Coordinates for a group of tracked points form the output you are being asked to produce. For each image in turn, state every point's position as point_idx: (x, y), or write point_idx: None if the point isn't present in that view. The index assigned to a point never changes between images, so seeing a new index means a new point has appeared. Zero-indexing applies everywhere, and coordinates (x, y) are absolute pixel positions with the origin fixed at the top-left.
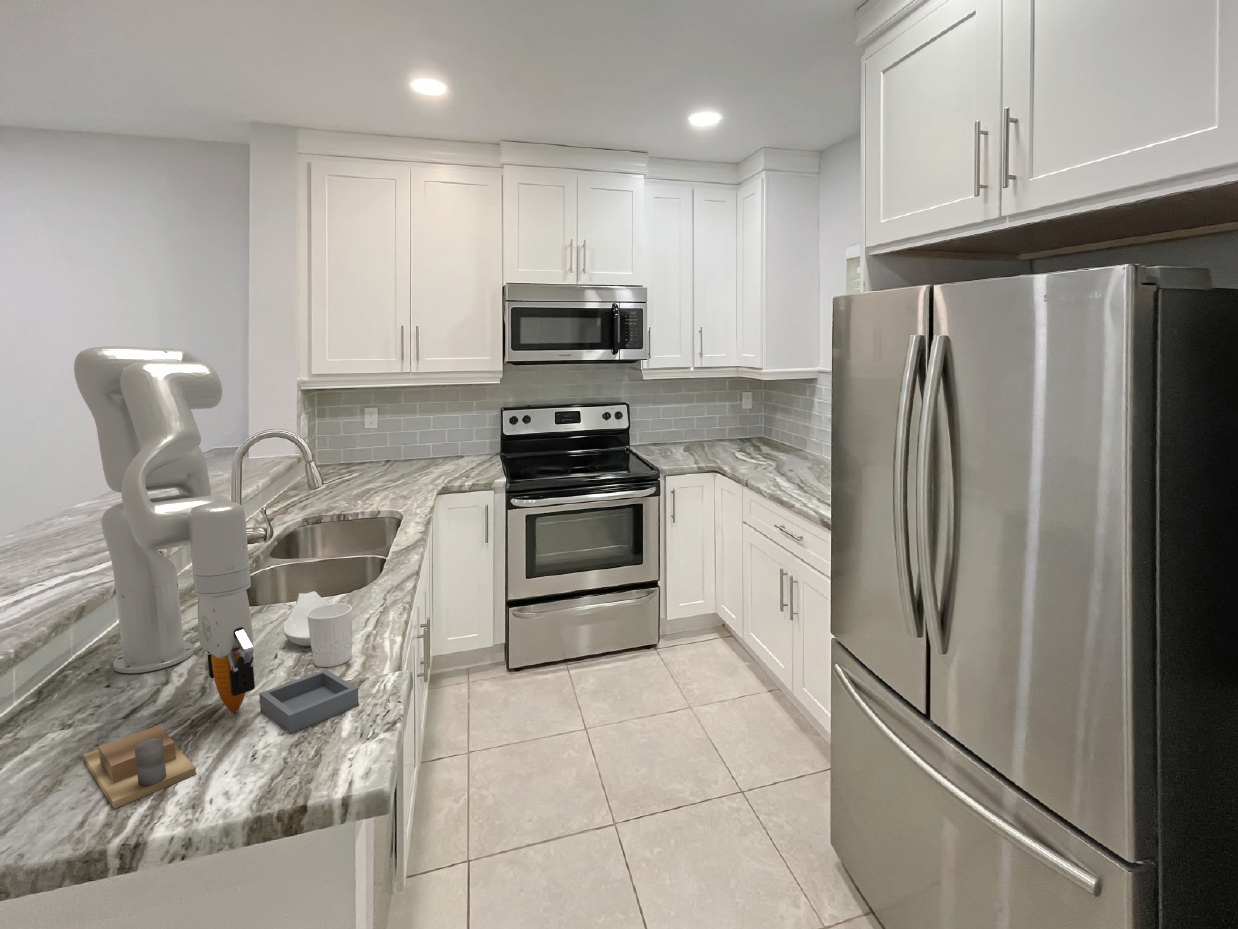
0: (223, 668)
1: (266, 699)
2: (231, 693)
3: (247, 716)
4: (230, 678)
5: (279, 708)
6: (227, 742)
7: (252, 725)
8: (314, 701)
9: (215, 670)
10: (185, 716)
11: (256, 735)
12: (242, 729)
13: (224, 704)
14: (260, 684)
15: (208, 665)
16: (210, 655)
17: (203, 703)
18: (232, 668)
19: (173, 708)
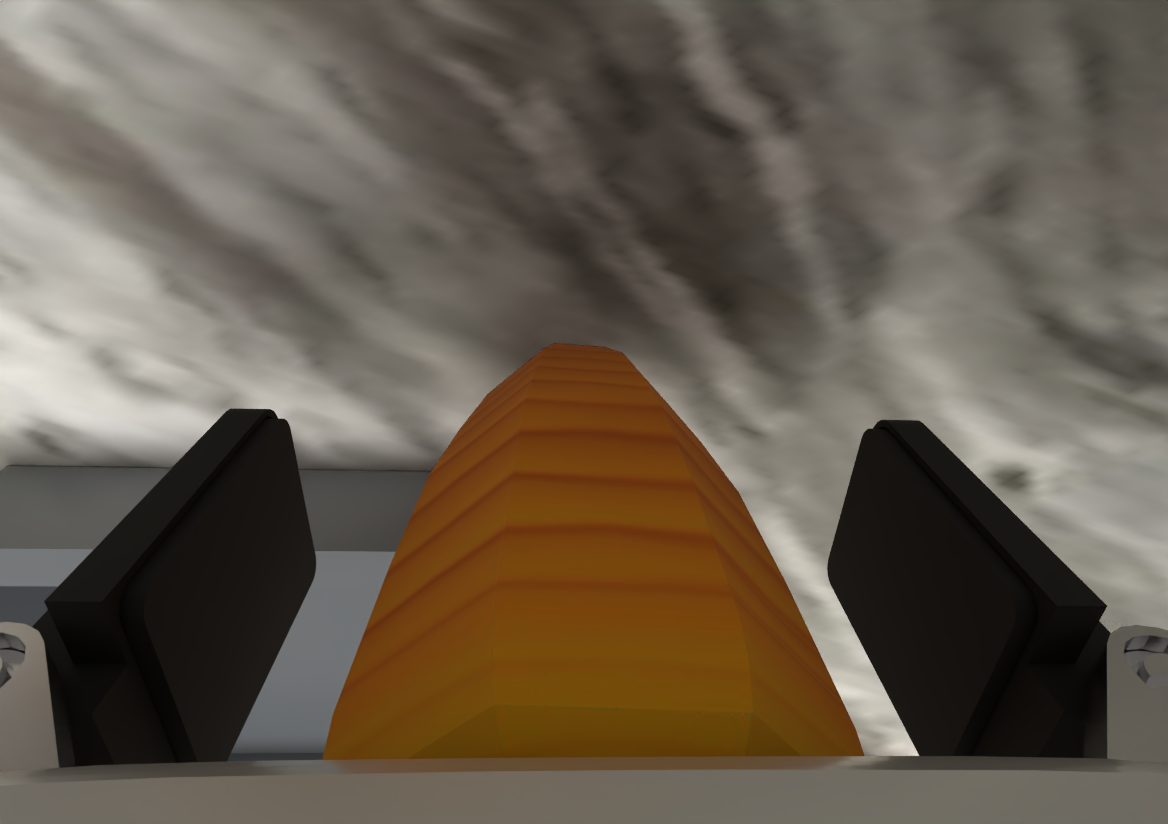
0: (413, 584)
1: (318, 547)
2: (252, 413)
3: (458, 397)
4: (138, 527)
5: (73, 550)
6: (154, 170)
7: (300, 371)
8: (294, 672)
9: (537, 496)
10: (849, 115)
11: (131, 337)
12: (288, 311)
13: (597, 346)
14: (822, 586)
15: (996, 497)
16: (1047, 625)
17: (923, 284)
18: (15, 675)
19: (1080, 101)
